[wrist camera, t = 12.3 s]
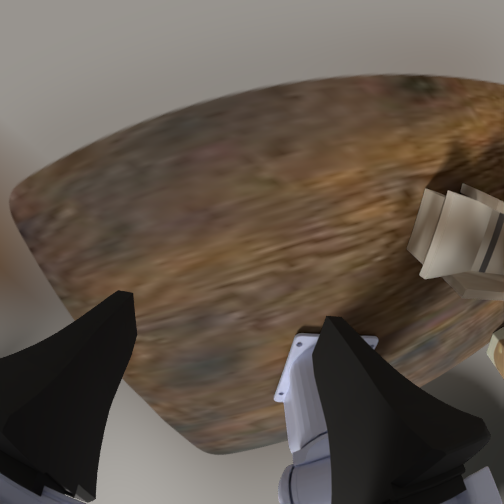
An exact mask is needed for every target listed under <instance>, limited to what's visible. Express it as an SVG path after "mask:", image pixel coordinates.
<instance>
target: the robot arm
mask: <svg viewBox="0 0 504 504" xmlns="http://www.w3.org/2000/svg"><path fill="white" fill-rule="evenodd" d="M136 337H137V328H136V319H135V309H134V298H133V293H131V292H125V291H119V290H118V291H116V292H115V293H113V294H112V295H111V296H109V297H108V298H106V299H105V300H104V301H102V302H101V303H100V304H98V305H97V306H96V307H94V308H93V309H91V310H90V311H89V312H87V313H86V314H84V315H83V316H82V317H80V318H79V319H77V320H76V321H74V322H73V323H71V324H70V325H68V326H67V327H65V328H64V329H62V330H60V331H59V332H58V333H55V334H54V335H52V336H50V337H49V338H47V339H45V340H43V341H41V342H39V343H37V344H35V345H33V346H30V347H28V348H26V349H24V350H21V351H19V352H17V353H14V354H12V355H9V356H6V357H3V358H0V504H86V503H83V502H81V501H78V500H76V499H73V498H77V499H79V500H82V501H85V502H91V501H93V500H95V499H96V483H97V472H98V471H97V470H98V463H99V457H100V450H101V445H102V440H103V434H104V430H105V426H106V422H107V418H108V414H109V410H110V407H111V404H112V401H113V398H114V396H115V394H116V391H117V389H118V386H119V384H120V381H121V379H122V377H123V374H124V372H125V370H126V367H127V365H128V362H129V360H130V358H131V355H132V351H133V348H134V344H135V341H136ZM378 341H379V340H378V338H377V337H376V336H360V335H359V334H358V333H357V332H356V331H355V330H354V329H353V328H352V327H351V326H350V325H349V324H348V323H347V322H346V321H345V320H344V319H343V318H342V317H333V316H326V319H325V322H324V324H323V327H322V330H321V332H320V334H310V333H299V334H297V335H295V337H294V340H293V343H292V346H291V349H290V352H289V355H288V358H287V361H286V364H285V367H284V370H283V373H282V376H281V378H280V381H279V384H278V387H277V389H276V392H275V395H274V400H275V401H276V402H284V409H285V418H286V426H287V434H288V442H289V447H290V450H291V452H292V455H293V463H294V464H292V465H289V466H287V467H286V469H285V470H284V472H283V474H282V477H281V478H280V481H279V486H278V497H279V503H280V504H503V503H502V500H501V498H500V495H499V492H498V489H497V487H496V484H495V482H494V479H493V478H492V475H491V472H490V470H489V467H484V468H483V469H481V470H479V471H477V472H476V473H474V474H472V475H470V476H468V477H467V478H465V479H464V480H463V478H462V476H461V474H463V473H464V472H465V468H464V465H463V464H464V463H465V462H467V461H468V460H469V459H470V458H472V457H473V456H474V455H475V454H476V453H477V452H478V451H480V450H481V449H482V448H483V447H484V446H485V445H486V444H487V443H488V442H489V440H490V438H491V434H490V432H489V431H488V429H487V427H486V425H485V423H484V421H483V419H481V418H479V417H476V416H473V415H471V414H468V413H465V412H463V411H460V410H458V409H456V408H454V407H452V406H450V405H448V404H445V403H444V402H442V401H440V400H438V399H437V398H435V397H433V396H432V395H430V394H428V393H426V392H425V391H423V390H422V389H421V388H419V387H418V386H416V385H415V384H413V383H412V382H411V381H409V380H408V379H407V378H405V377H404V376H403V375H402V374H400V373H399V372H398V371H397V370H395V369H394V368H393V367H392V366H391V365H390V364H389V363H388V362H386V361H385V360H384V359H383V358H382V357H381V356H380V355H379V354H378V353H377V352H376V351H375V350H374V349H375V347H376V345H377V343H378ZM298 342H301V343H299V344H297V343H298ZM370 345H371V346H370ZM65 494H66V495H68V496H71V497H73V498H71V497H68V496H66V495H65Z"/></svg>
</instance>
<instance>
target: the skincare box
mask: <svg viewBox="0 0 504 504" xmlns="http://www.w3.org/2000/svg"><path fill="white" fill-rule="evenodd" d="M487 355H488V356H489V358H490V359H491V361H492V362H493V364H494V365H495V367H496V368H497V369H498V371H499V373H500V374H501V376H502V377H503V379H504V327H502V328H501V329H499V330H498V331H496V332H494V333H493V335H492V338H491V341H490V344H489V347H488V350H487Z"/></svg>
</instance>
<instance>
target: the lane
mask: <svg viewBox="0 0 504 504" xmlns="http://www.w3.org/2000/svg"><path fill="white" fill-rule="evenodd" d="M460 193H462V194H465V195H467V196H469V197H467V196H464V195H461V194H458V193H455V192H452V191H449V190H448V192H447V196H445V195H443V194H441V193H439V192H436V191H433V190H430V189H427V188H425V191H424V195H423V198H422V202H421V205H420V209H419V212H418V215H417V219H416V222H415V225H414V228H413V231H412V234H411V237H410V240H409V243H408V246H407V250H408V251H409V252H410V253H411V254H412V255H413V256H414V257H415V258H416V259H417V260H418V261H420V262H421V263H422V264H423V267H422V269H421V272H420V274H419V275H420V276H421V277H422V278H424V279H430V278H436V277H442V278H443V279H444V280H445V281H446V282H447V283H448V284H449V285H450V286H451V287H452V288H453V289H454V290H455V291H456V292H457V293H458V295H459V296H460V297H461V298H468V299H485V300H504V202H503V201H501V200H499V199H497V198H495V197H493V196H491V195H488V194H486V193H484V192H482V191H480V190H477V189H475V188H473V187H470V186H468V185H466V184H463V183H462V187H461V191H460ZM470 197H471V198H470Z"/></svg>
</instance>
